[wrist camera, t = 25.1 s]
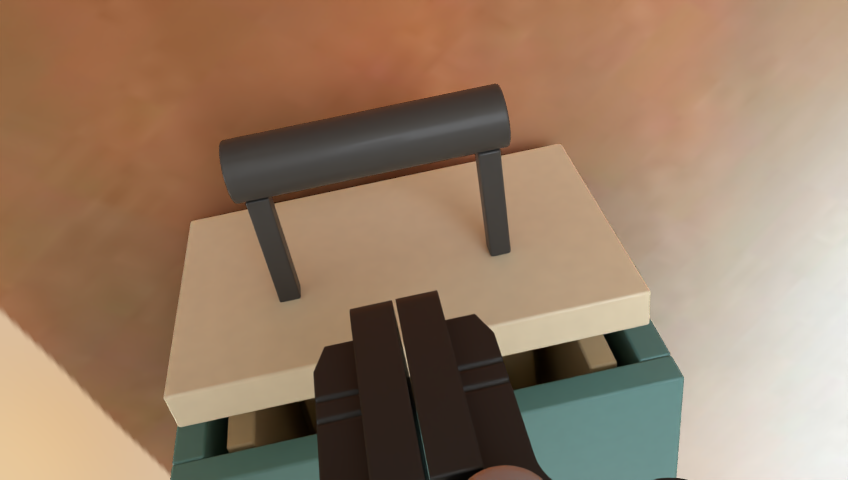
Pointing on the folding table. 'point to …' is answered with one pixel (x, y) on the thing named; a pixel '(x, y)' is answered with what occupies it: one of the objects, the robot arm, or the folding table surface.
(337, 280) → the drawer
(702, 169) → the folding table surface
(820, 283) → the folding table surface
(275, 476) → the cabinet
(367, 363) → the robot arm
